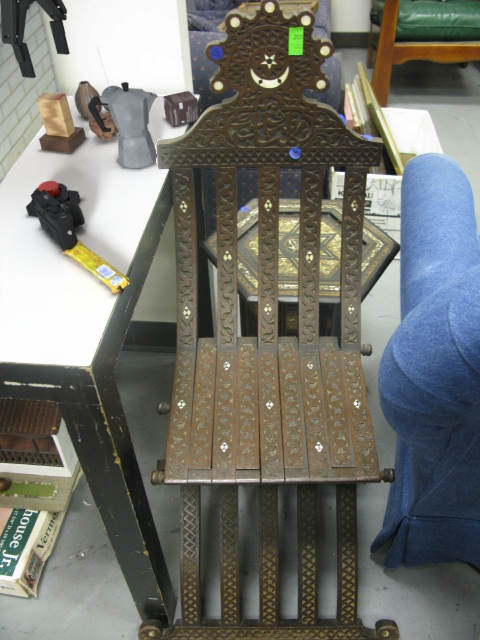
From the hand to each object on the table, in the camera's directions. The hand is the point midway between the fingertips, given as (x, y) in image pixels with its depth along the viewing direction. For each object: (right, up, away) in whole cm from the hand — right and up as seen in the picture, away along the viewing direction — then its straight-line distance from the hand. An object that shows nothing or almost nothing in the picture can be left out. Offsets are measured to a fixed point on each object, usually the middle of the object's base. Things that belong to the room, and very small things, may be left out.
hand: (47, 65), depth 118 cm
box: (+29, +2, +28) cm, 40 cm away
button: (+2, -28, -2) cm, 28 cm away
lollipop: (+11, +9, +25) cm, 28 cm away
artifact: (+7, -8, +23) cm, 25 cm away
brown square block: (-3, -10, +21) cm, 24 cm away
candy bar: (+14, -43, -18) cm, 49 cm away
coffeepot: (+16, -16, +14) cm, 27 cm away
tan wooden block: (-3, -8, +19) cm, 21 cm away
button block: (+2, -30, 0) cm, 30 cm away
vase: (+1, +1, +32) cm, 33 cm away
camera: (+7, -37, -7) cm, 39 cm away
